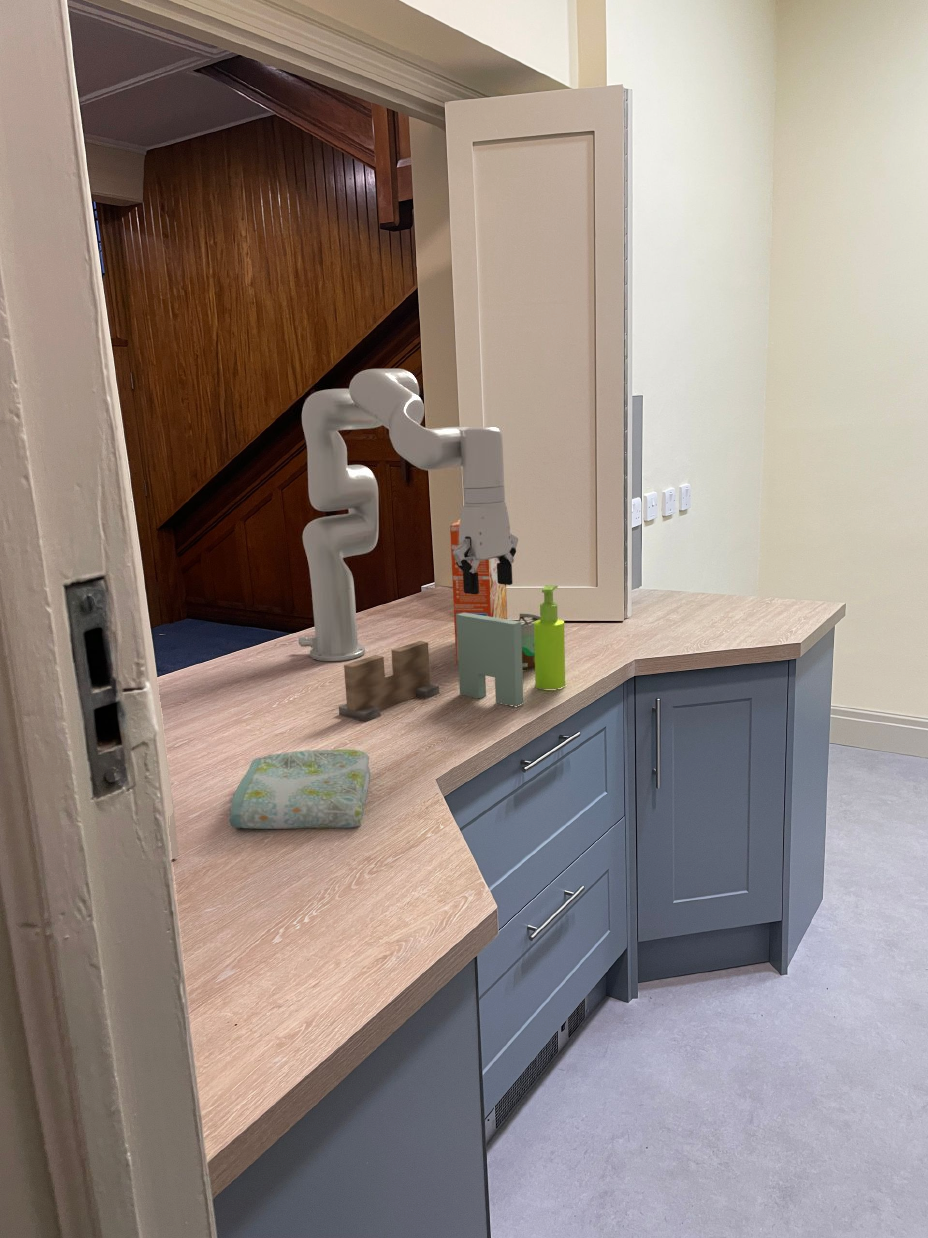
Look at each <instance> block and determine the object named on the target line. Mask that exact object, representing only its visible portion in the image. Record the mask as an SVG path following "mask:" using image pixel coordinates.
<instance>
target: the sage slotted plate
mask: <svg viewBox="0 0 928 1238" xmlns="http://www.w3.org/2000/svg"><path fill="white" fill-rule="evenodd" d="M456 619H457V642H458V684H459V685H458V686H459V695H462V696H466V697H471V698H475V699H478V698H480V699H481V698H484V697H486V696H487V686H486V685H487V684H486V683H487V681H486V679H487V678H486V676H487V677H490V678H494V686H495V688H494V690H495V691H494V693H495V695H494V696H495V703H496V702H497V703H496V704H499V703H502V704H501V705H503V704H507V705H513V706H518V705H520V704H522V703H523V704H524V680H523V679H524V676H523V675H524V674H523V671H522V636H521V622H519V621H518V620H512V619H508V618H507V619H501V618H495V617H489V616H482V615H476V614H470V613H461V614H457V615H456ZM507 705H506V706H507Z"/></svg>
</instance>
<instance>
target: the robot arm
mask: <svg viewBox="0 0 928 1238" xmlns="http://www.w3.org/2000/svg"><path fill="white" fill-rule="evenodd" d="M424 416H425V405H424V403H423V400H422V399H421V397H420V386H419V383H418V381H417V379H416V377H415V376H414V375H413V373H411V372H410V371H408V370H406V369H404V368H370V369H365V370H362V371H360V372H358V373H356V374H355V375H354V376H353V378H352V379H351V380H350V383H349V386H348V388H331V389H323V390H319V391H315V392H314V393H312V394H310V395H309V396H308V397H307V398H306V399H305V402H304V403H303V406H302V411H301V425H302V429H303V432H304V433H303V434H304V439H305V441H306V442H305V443H306V448H307V450H306V451H307V479H308V481H307V485H308V487H307V488H308V497H309V502H310V504H311V506H312V507H313V508H314V509H315V510H317V511H320V512H334V511H342V510H348V513H344V514H336V515H329V516H323V517H319V518H315V519H313V520H312V521H310V522H308V523H307V525H306V526H305V527H304V529H303V532H302V543H303V548H304V550H305V555H306V557H307V562H308V564H307V565H308V568H309V579H310V585H311V586H310V587H311V595H312V597H311V600H312V611H313V612H312V613H313V621H314V622H313V623H314V635H312V636H310V637H309V636H299V637H298V645H299V646H300V647H301V648H302V647H305V648H307V647H310V648H311V649H310V651H309V656H310V658H311V659H312V660H315V659H316V660H315V661H320V662H341V661H349V660H353V659H355V658H356V659H357V658H359V657H361V656H363V655H364V654H365V653H366V647H365V646H364V645H363V644H361V643H359V639H358V626H357V612H356V611H357V610H356V595H355V594H356V593H355V583H354V577H353V573H352V571H351V570H350V568H349V567H348V565H347V564H346V562H345V561H344V558H348V557H352V556H353V557H354V556H359V555H364V554H368V553H370V552H371V551H373V550H374V549H375V547H376V546H377V543H378V539H379V486H378V481H377V478H376V477H375V474H374V473H373V471H372V470H371V469H370V468H368V466H365V465H362V464H349V465H348V451H347V449H348V447H347V445H346V443H345V440H344V439H343V436H342V435H341V434H340V433H339V431H345V430H347V431H349V430H351V431H352V430H361V429H363V430H364V429H376V428H378V427H381V426H383V427H385V428H386V429H388V435H389V439H390V442H391V444H392V447H393V449H394V450H395V451H396V453H397V454H398V455H399V456H400V457H402V458H403V459H404V460H406V461H407V462H408V463H410V464H411V465H413V466H415V467H416V468H417V469H420V470H424V471H429V472H430V471H439V470H447V469H448V470H449V469H459V468H461V472H462V490H463V491H462V493H463V505H462V506H461V508H460V514H459V519H460V523H459V545H458V547H457V548H456V549H455V550H454V551H453V555H454V557H455V560H456V564H457V565H458V567H459V568H460V571H461V572H463V585H464V593H467V594H475V595H476V594H479V580H478V572H475V571H476V569H477V567H478V564H479V562H480V561H483V560H488V559H492V558H497V559H498V561H499V562H500V563H497V581H498V583H499V584H504V585H506V586H510V585H513V582H514V581H513V565H512V564H514V562H515V559H514V558H515V555H516V552H517V546H518V542H519V538H518V537H517V536H515V535H514V534H511V528H510V527H511V526H510V518H509V517H510V516H509V512H508V507H507V502H506V493H505V492H506V491H505V473H504V472H505V471H504V468H505V467H504V453H503V452H504V446H503V433H502V431H501V429H499V428H498V427H494V426H493V427H492V426H488V427H487V426H484V427H483V426H482V427H470V426H462V425H461V426H447V427H446V426H444V427H435V428H426V427H425V426H422V425H421V424H422V422H423V419H424ZM470 561H473V562H472V564H471V565H470Z"/></svg>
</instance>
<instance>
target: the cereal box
mask: <svg viewBox="0 0 928 1238" xmlns="http://www.w3.org/2000/svg"><path fill="white" fill-rule="evenodd" d="M459 523H460V518H459V519H458V520H457V521H456V522H454V523H453V524H451V525H450V526H449V529H450V531H449V532H450V550H451V555H450V556H451V577H452V597H453V621H454V644H455V663H456V664H457V663H458V642H457V619H456V615H457V614H461V613H470V614H476V615H482V616H489V617H495V618H501V619H507V620H508V604H507V602H508V600H507V598H508V597H507V585H504V584H499V583H498V581H497V563H500V562H499V561H498V559H497V558H492V559H488V560H483V561H480V562H479V564H478V567H477V569H476V571H475V572H478V580H479V594H476V595H475V594H467V593H464V585H463V572H461V571H460V568H459V567H458V565H457V564H456V560H455V557H454V555H453V551H454V550H455V549H456V548H457V547H458V545H459ZM472 562H473V561H470V565H471V564H472Z"/></svg>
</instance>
